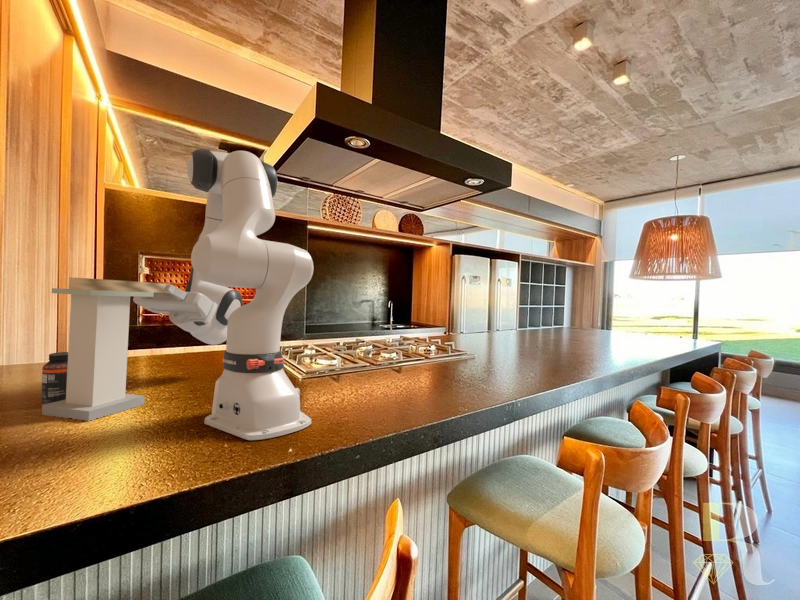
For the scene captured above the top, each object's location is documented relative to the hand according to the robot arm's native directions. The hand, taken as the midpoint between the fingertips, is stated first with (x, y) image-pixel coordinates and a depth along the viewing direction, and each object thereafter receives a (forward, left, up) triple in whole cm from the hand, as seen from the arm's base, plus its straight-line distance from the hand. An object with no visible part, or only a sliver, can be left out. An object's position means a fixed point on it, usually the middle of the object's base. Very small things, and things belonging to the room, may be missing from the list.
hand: (151, 286), depth 88 cm
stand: (-6, +10, -27) cm, 30 cm away
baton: (-3, +6, -1) cm, 7 cm away
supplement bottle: (+4, +15, -28) cm, 32 cm away
